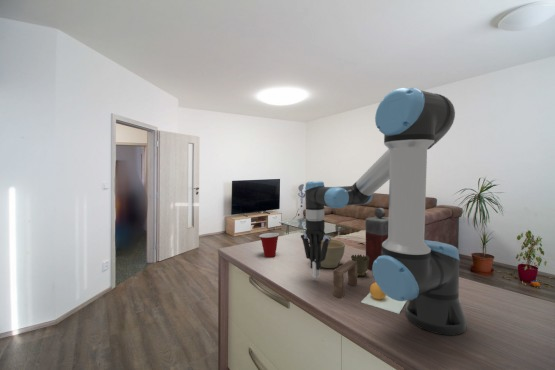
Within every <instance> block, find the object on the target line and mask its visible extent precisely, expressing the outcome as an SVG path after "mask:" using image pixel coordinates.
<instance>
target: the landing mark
mask: <svg viewBox="0 0 555 370" xmlns="http://www.w3.org/2000/svg"><path fill="white" fill-rule="evenodd" d="M407 302H408V300H406V301H397V300H394V299H392V298H390V297H388V296H387V295H386V296H385V297H384V298H383V299H375V298H374V297H373V296H372V295H371V293H370V292H369V293H368V294H367V295H366V296H365V297H364V298H363V299H362V300H361V302H360V303H362V304H365V305H368V306H371V307H375V308H377V309H381V310H385V311H387V312H391V313H394V314H398V315H400V313H401V312H402V310H403V308H404V306H406V304H407Z"/></svg>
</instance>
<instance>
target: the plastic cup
mask: <svg viewBox="0 0 555 370" xmlns="http://www.w3.org/2000/svg"><path fill="white" fill-rule="evenodd" d="M279 235H280V233H278V232H267V233H262V234H259V238H260V240H261V241H260V242H261V246H262V250H263V255H264V257H265V258H269V259H271V258H275V257H276V253H277V246H278V240H279Z"/></svg>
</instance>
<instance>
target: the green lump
mask: <svg viewBox="0 0 555 370" xmlns="http://www.w3.org/2000/svg"><path fill="white" fill-rule="evenodd" d="M350 260H353V261H357V277H364V276H365V274H366V272H367V271H368V270H369V269H368V266H369V257H367V256H366V255H364V254H363V255H362V254H355V255H354V254H352V255H351V259H350Z"/></svg>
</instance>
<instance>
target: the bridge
mask: <svg viewBox="0 0 555 370" xmlns="http://www.w3.org/2000/svg"><path fill="white" fill-rule="evenodd" d="M346 273H347V285H350V286H354V287H356V286H357V285H358V275H357V261H353V260H352V259H349V260H347V261H346V262H344V263H343V264H341V265H340V266H337V267H336V268H335V269H334V270H333V279H332V280H333V281H332V282H333V284H332V285H333V287H332V288H333V297H336V298H337V299H338V298H339V299H342V298H343V297H344V296H345V291H344V290H345V288H344V287H345V282H344V281H345V280H344V278H345V277H344V275H345V274H346Z"/></svg>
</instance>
